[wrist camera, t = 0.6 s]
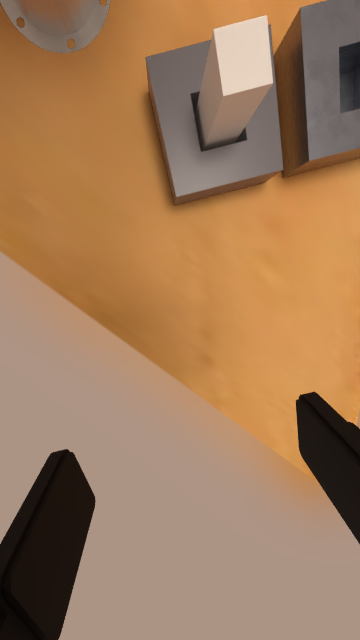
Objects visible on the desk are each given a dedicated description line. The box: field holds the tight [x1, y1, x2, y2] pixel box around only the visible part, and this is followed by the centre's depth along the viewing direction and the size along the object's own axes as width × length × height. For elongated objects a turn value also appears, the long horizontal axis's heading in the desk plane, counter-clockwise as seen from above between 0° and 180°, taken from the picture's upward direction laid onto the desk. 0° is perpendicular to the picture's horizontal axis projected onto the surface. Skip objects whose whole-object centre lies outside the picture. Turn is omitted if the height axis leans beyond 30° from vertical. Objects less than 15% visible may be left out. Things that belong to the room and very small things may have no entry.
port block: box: [273, 0, 360, 177], centre depth 26 cm, size 13×13×6 cm
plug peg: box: [194, 15, 273, 152], centre depth 23 cm, size 4×4×12 cm
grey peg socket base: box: [145, 24, 283, 205], centre depth 27 cm, size 13×13×5 cm
